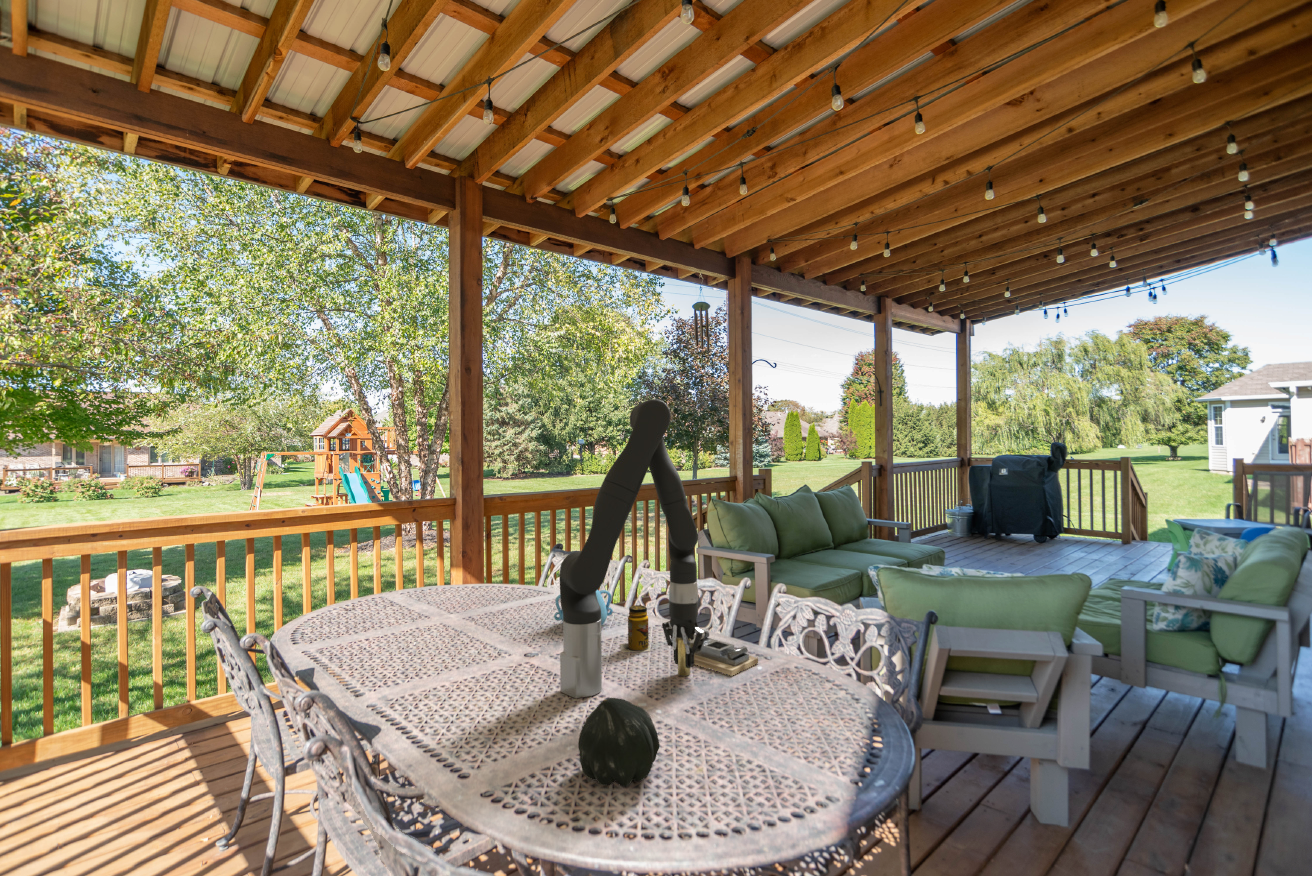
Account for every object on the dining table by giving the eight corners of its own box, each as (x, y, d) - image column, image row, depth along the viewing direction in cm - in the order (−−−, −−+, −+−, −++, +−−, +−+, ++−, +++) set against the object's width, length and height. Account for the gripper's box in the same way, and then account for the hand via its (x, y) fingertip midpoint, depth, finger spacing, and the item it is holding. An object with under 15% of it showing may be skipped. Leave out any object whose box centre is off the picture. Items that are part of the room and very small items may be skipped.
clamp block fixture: (731, 676, 156) (731, 651, 156) (678, 659, 168) (678, 636, 168) (758, 663, 164) (757, 640, 164) (705, 648, 177) (705, 627, 177)
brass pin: (684, 676, 155) (684, 641, 155) (675, 673, 157) (675, 638, 157) (692, 673, 157) (692, 638, 157) (683, 670, 160) (683, 635, 160)
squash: (670, 723, 118) (618, 668, 117) (676, 768, 103) (616, 704, 102) (616, 772, 118) (564, 717, 117) (614, 824, 103) (554, 761, 102)
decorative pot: (550, 620, 207) (549, 580, 207) (606, 615, 213) (605, 576, 213) (558, 638, 188) (558, 594, 188) (620, 631, 194) (619, 589, 194)
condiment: (651, 651, 175) (650, 609, 175) (621, 653, 174) (621, 611, 174) (648, 643, 182) (647, 603, 183) (620, 644, 181) (619, 604, 181)
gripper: (653, 596, 160) (654, 662, 159) (695, 606, 150) (695, 676, 150) (672, 591, 165) (673, 655, 165) (714, 600, 155) (714, 668, 155)
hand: (684, 665), depth 157 cm, fingers closed on brass pin, 3 cm apart
